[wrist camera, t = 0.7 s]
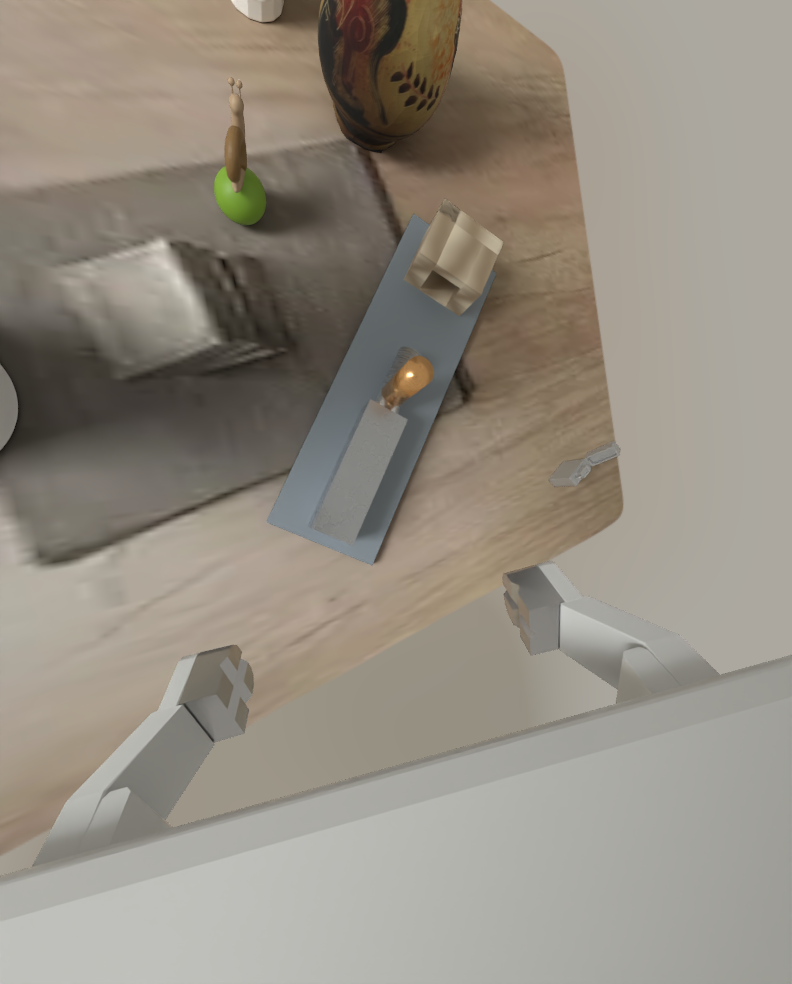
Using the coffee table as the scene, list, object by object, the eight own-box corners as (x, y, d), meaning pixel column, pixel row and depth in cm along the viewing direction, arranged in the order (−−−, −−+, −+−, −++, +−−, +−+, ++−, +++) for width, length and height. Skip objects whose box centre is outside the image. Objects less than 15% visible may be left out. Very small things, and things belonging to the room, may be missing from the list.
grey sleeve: (307, 525, 46) (311, 528, 41) (360, 409, 48) (370, 399, 43) (344, 541, 47) (352, 545, 42) (395, 427, 49) (407, 419, 44)
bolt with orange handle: (318, 521, 45) (332, 527, 34) (395, 352, 48) (429, 311, 38) (342, 531, 46) (363, 540, 35) (416, 365, 49) (455, 328, 39)
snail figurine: (269, 190, 46) (266, 88, 35) (264, 241, 46) (261, 155, 34) (220, 175, 45) (201, 64, 33) (216, 228, 44) (195, 134, 33)
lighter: (555, 487, 58) (597, 485, 51) (548, 479, 58) (589, 476, 50) (580, 455, 60) (624, 449, 52) (574, 447, 60) (617, 440, 52)
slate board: (266, 521, 45) (266, 522, 44) (410, 219, 52) (413, 213, 51) (369, 563, 49) (372, 565, 48) (492, 277, 56) (496, 273, 54)
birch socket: (403, 279, 50) (419, 252, 44) (426, 230, 51) (444, 198, 46) (459, 316, 52) (481, 294, 47) (480, 268, 54) (503, 242, 48)
